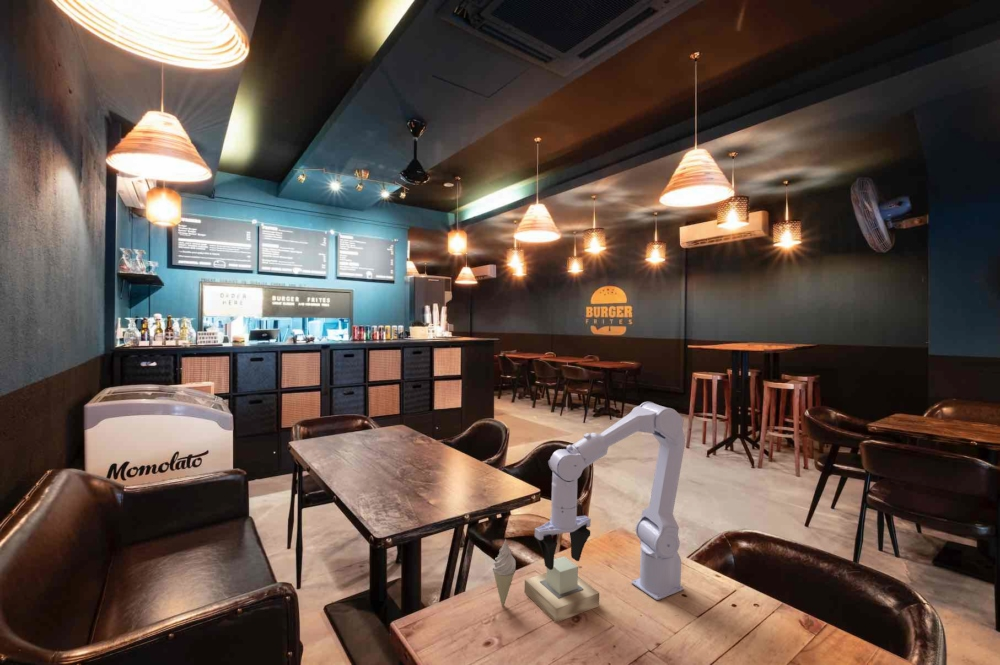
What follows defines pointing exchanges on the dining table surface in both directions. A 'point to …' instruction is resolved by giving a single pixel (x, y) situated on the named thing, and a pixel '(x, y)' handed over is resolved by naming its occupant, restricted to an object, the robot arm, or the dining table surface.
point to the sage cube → (563, 575)
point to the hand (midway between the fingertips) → (562, 563)
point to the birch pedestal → (561, 598)
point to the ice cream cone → (504, 571)
